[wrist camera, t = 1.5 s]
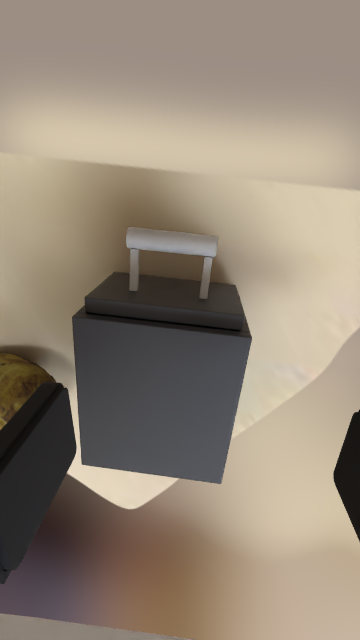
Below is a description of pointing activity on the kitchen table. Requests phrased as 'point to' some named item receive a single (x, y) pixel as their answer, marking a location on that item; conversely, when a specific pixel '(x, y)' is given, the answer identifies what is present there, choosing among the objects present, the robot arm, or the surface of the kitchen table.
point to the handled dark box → (168, 286)
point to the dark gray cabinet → (157, 394)
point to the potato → (18, 383)
